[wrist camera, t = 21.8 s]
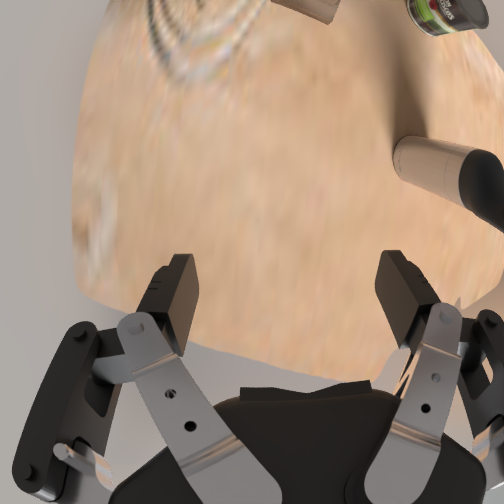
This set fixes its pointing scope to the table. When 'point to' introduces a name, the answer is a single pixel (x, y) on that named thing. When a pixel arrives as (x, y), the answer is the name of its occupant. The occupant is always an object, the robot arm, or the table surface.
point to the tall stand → (313, 8)
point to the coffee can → (448, 15)
